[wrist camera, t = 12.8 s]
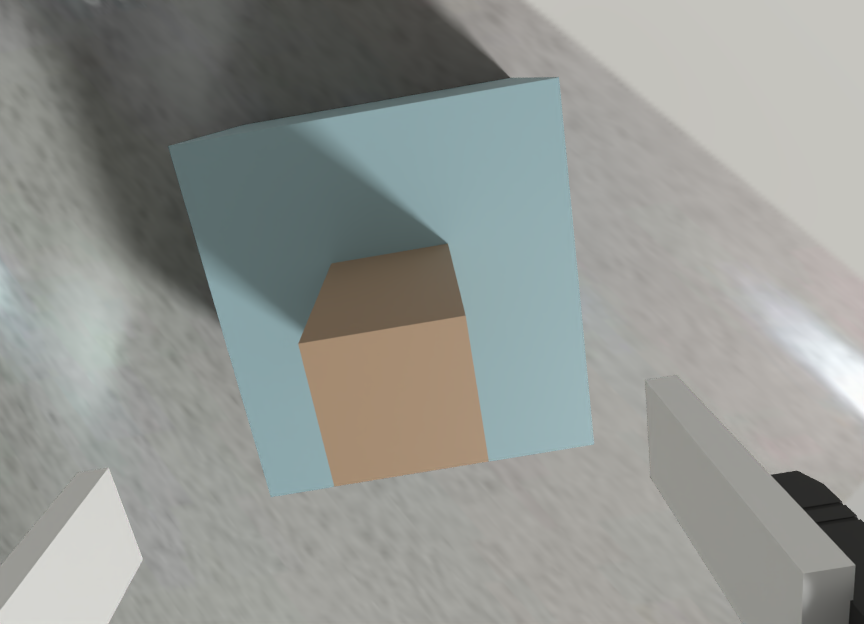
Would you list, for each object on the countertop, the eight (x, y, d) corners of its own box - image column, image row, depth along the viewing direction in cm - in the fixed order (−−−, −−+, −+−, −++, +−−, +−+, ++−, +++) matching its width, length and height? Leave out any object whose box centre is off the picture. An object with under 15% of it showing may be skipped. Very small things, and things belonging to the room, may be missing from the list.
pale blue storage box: (308, 381, 44) (220, 649, 23) (243, 124, 38) (52, 178, 18) (542, 342, 43) (663, 579, 23) (510, 77, 38) (632, 76, 17)
